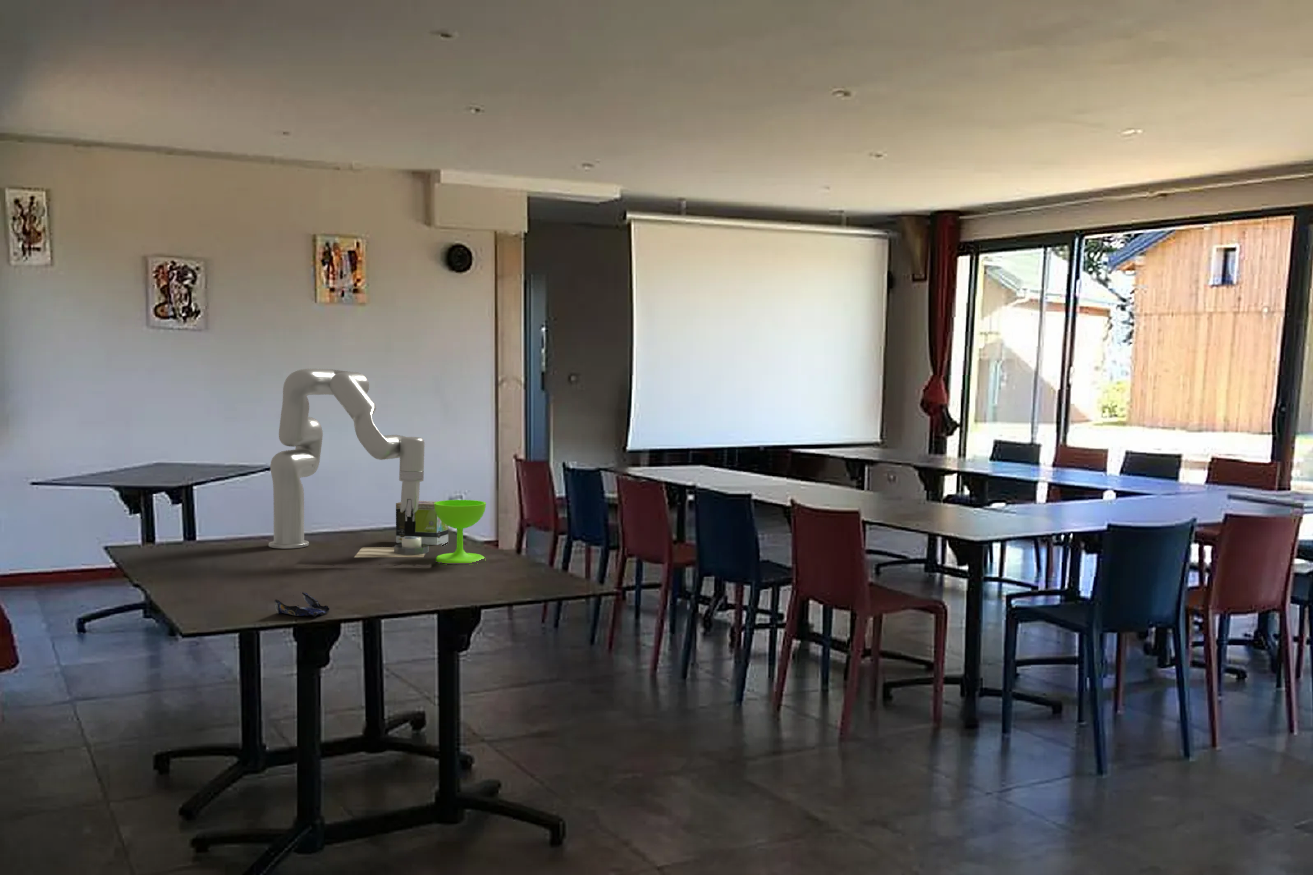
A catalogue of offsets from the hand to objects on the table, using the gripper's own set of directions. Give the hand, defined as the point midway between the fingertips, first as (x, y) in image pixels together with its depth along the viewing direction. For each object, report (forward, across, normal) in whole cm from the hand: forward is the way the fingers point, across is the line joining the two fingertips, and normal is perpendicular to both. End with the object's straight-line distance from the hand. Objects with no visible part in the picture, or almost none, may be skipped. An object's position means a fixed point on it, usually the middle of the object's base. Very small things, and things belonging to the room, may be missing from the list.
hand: (410, 533), depth 345 cm
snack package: (+7, +82, -17) cm, 84 cm away
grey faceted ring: (+6, 0, +1) cm, 6 cm away
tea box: (+8, -21, +2) cm, 22 cm away
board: (+7, 0, -5) cm, 9 cm away
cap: (+6, 0, +1) cm, 6 cm away
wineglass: (+7, +8, +16) cm, 19 cm away
